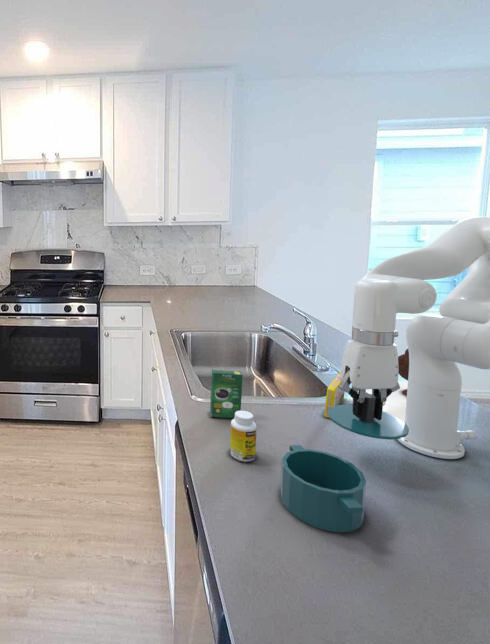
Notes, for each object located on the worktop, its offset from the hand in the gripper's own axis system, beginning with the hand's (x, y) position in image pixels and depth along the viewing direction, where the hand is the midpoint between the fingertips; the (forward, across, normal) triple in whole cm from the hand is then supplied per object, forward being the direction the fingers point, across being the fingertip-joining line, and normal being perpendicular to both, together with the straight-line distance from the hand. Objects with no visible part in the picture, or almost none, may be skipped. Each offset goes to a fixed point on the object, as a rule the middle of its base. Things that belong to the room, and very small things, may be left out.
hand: (366, 416), depth 90 cm
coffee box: (+11, +23, -23) cm, 34 cm away
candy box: (+11, -10, -26) cm, 30 cm away
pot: (+11, +18, +13) cm, 25 cm away
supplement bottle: (+11, +26, -4) cm, 28 cm away
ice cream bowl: (+11, -39, -33) cm, 52 cm away
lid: (+1, 0, 0) cm, 1 cm away
